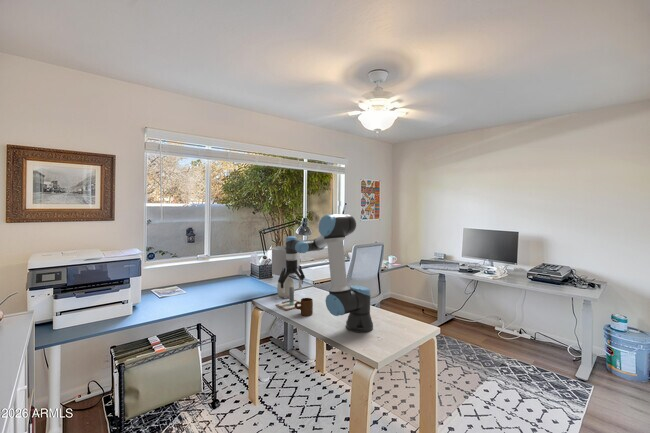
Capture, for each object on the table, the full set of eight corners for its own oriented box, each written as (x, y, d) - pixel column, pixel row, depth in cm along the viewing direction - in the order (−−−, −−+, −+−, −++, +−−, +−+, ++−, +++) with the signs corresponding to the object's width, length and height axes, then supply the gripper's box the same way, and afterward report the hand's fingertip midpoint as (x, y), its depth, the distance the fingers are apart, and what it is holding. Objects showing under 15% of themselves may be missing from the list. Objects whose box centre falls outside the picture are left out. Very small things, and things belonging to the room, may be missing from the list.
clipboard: (306, 305, 213) (306, 303, 212) (285, 311, 202) (285, 308, 202) (295, 300, 223) (295, 298, 222) (275, 305, 212) (275, 303, 212)
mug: (297, 318, 190) (297, 303, 189) (292, 314, 196) (292, 299, 196) (314, 315, 196) (314, 300, 195) (309, 311, 202) (309, 296, 202)
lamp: (301, 293, 241) (301, 245, 239) (296, 301, 221) (296, 249, 219) (276, 292, 243) (275, 244, 241) (268, 300, 223) (268, 249, 221)
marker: (292, 303, 214) (292, 286, 213) (294, 305, 211) (294, 287, 211) (288, 304, 212) (288, 287, 211) (291, 305, 210) (290, 288, 209)
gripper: (303, 256, 221) (303, 286, 222) (272, 261, 205) (272, 293, 206) (309, 258, 215) (310, 288, 216) (278, 262, 199) (278, 295, 200)
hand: (292, 290), depth 211 cm, fingers open, 13 cm apart
